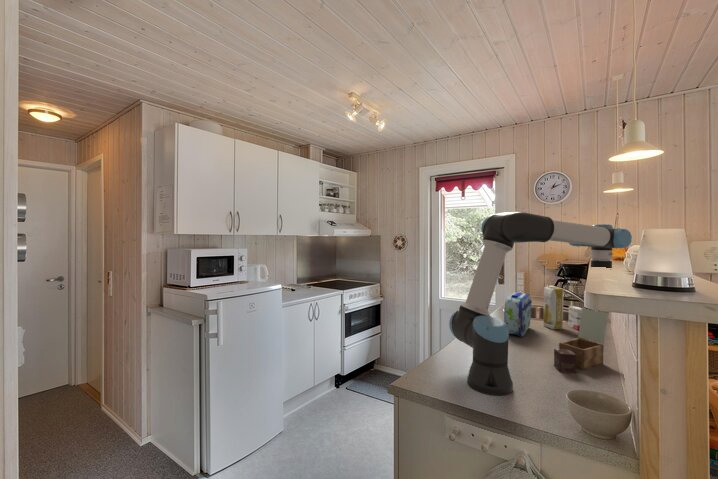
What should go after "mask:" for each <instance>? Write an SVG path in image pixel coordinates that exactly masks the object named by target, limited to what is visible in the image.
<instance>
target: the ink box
mask: <svg viewBox="0 0 718 479" xmlns="http://www.w3.org/2000/svg"><path fill="white" fill-rule="evenodd" d="M581 313H582V307H579V306H574V305H573V306H571V305H569V306H568V321H567V322H568V325H567V326H568V327H569V328H572V329H574V330H577V331H579V329H580V321H581Z"/></svg>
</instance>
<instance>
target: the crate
mask: <svg viewBox="0 0 718 479" xmlns="http://www.w3.org/2000/svg"><path fill="white" fill-rule="evenodd" d="M604 345H605V344H602V343H598V342H595V341H591V340H587V339H584V338H580V337H577V338H572V339H569V340H565V341H561V342H558V349H569V350H571V351H572V352H573V353H575V354H576V369H579V370H582V371H586V370H589V369H592V368H595V367H598V366H601V365H604Z"/></svg>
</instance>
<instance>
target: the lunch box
mask: <svg viewBox="0 0 718 479" xmlns="http://www.w3.org/2000/svg"><path fill="white" fill-rule="evenodd" d="M503 312H504V313H503V316H504V317H503V319H504V320H503V321H504V322H505V323H506V324H507V326H508V332H509V335H515V336H518V337H520V338H521V337H522V338H523V337H525V335H526V333H527V331H528V329H529V328H530V325H531V316H532V299H531V294H530V293H525V292H513V293H512V294H510V295H509V296H508V297H506V299H505V303H504V310H503Z"/></svg>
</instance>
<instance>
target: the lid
mask: <svg viewBox="0 0 718 479" xmlns="http://www.w3.org/2000/svg"><path fill="white" fill-rule="evenodd" d="M585 307H586V306H581V308H582V313H581V321H580V329H579V330H578V338H580V339H584V340H588V341H591V342H595V343H598V344H602V345H605V342H606V334H607V326H608V317H609V312H608V313H603V312H596V311H592V310H589V309H586V308H585Z"/></svg>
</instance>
